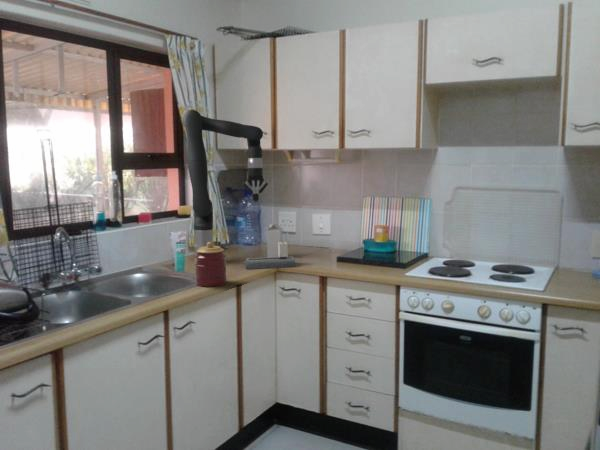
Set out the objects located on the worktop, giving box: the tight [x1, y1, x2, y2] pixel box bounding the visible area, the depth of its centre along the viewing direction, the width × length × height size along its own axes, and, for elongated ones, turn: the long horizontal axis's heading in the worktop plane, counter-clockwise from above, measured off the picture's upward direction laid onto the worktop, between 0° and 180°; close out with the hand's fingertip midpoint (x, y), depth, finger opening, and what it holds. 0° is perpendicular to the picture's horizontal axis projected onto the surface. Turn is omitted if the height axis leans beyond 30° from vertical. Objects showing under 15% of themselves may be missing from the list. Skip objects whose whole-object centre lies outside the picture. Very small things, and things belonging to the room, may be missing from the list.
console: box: [243, 255, 297, 270], centre depth 255 cm, size 24×12×4 cm, turn 101°
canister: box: [194, 242, 228, 288], centre depth 218 cm, size 13×13×18 cm
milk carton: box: [266, 220, 284, 257], centre depth 276 cm, size 7×7×19 cm
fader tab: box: [278, 241, 289, 259], centre depth 256 cm, size 4×5×9 cm
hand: (255, 201), depth 266 cm, fingers closed
